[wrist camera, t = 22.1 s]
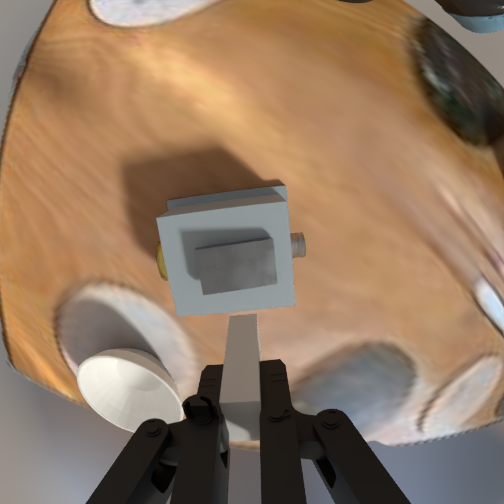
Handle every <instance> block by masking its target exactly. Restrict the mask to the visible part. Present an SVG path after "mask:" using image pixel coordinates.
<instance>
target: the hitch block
mask: <svg viewBox="0 0 504 504" xmlns="http://www.w3.org/2000/svg"><path fill="white" fill-rule="evenodd" d="M166 202H167V208H168V211H167V212H166V213H164V214H162V215H160V216H159V217H157V218H156V220H157V225H158V231H159V236H160V241H161V246H162V251H163V256H164V261H165V266H166V270H167V275H168V279H169V284H170V288H171V292H172V296H173V300H174V304H175V308H176V312H177V316H178V317H180V316H194V315H207V314H219V313H230V312H240V311H250V310H260V309H269V308H277V307H286V306H294V305H295V296H294V275H293V261H292V252H291V240H290V223H289V212H288V201H287V191H286V185H281V186H271V187H262V188H253V189H244V190H236V191H228V192H220V193H213V194H206V195H199V196H192V197H185V198H179V199H172V200H168V201H166ZM265 237H272V238H273V241H274V251H275V261H276V272H277V283H278V284H274V285H268V286H262V287H256V288H250V289H243V290H237V291H230V292H223V293H217V294H210V295H203V292H202V287H201V282H200V276H199V271H198V266H197V260H196V255H195V248H197V247H203V246H210V245H217V244H224V243H231V242H237V241H244V240H251V239H258V238H265Z"/></svg>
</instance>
